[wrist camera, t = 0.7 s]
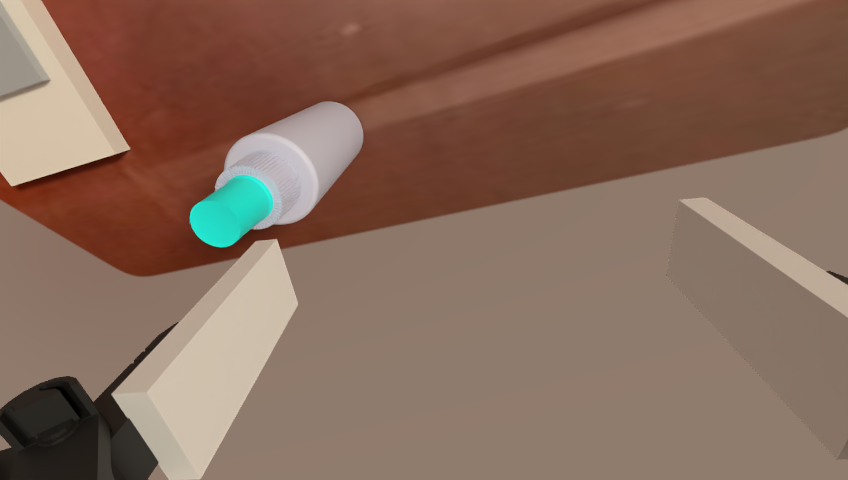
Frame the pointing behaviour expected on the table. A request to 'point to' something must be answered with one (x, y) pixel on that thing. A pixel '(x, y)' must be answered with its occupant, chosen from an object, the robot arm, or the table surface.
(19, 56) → the shutter
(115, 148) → the socket plate
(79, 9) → the table surface
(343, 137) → the spray bottle
